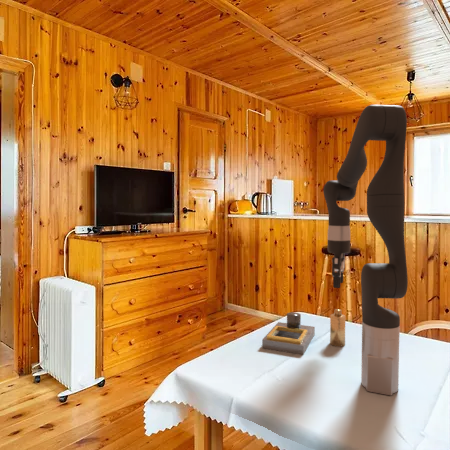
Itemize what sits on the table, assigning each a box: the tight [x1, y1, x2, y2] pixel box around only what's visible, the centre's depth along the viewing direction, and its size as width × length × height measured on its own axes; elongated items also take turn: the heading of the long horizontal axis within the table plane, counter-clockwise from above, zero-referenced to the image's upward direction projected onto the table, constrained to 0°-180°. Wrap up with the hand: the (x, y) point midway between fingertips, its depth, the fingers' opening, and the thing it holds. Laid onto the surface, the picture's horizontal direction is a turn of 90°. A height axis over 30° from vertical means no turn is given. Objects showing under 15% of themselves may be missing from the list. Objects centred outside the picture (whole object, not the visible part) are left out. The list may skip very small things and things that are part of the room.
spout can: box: [329, 308, 346, 347], centre depth 128 cm, size 5×5×12 cm
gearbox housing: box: [261, 311, 316, 355], centre depth 131 cm, size 20×14×8 cm
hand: (338, 285), depth 127 cm, fingers open, 8 cm apart
